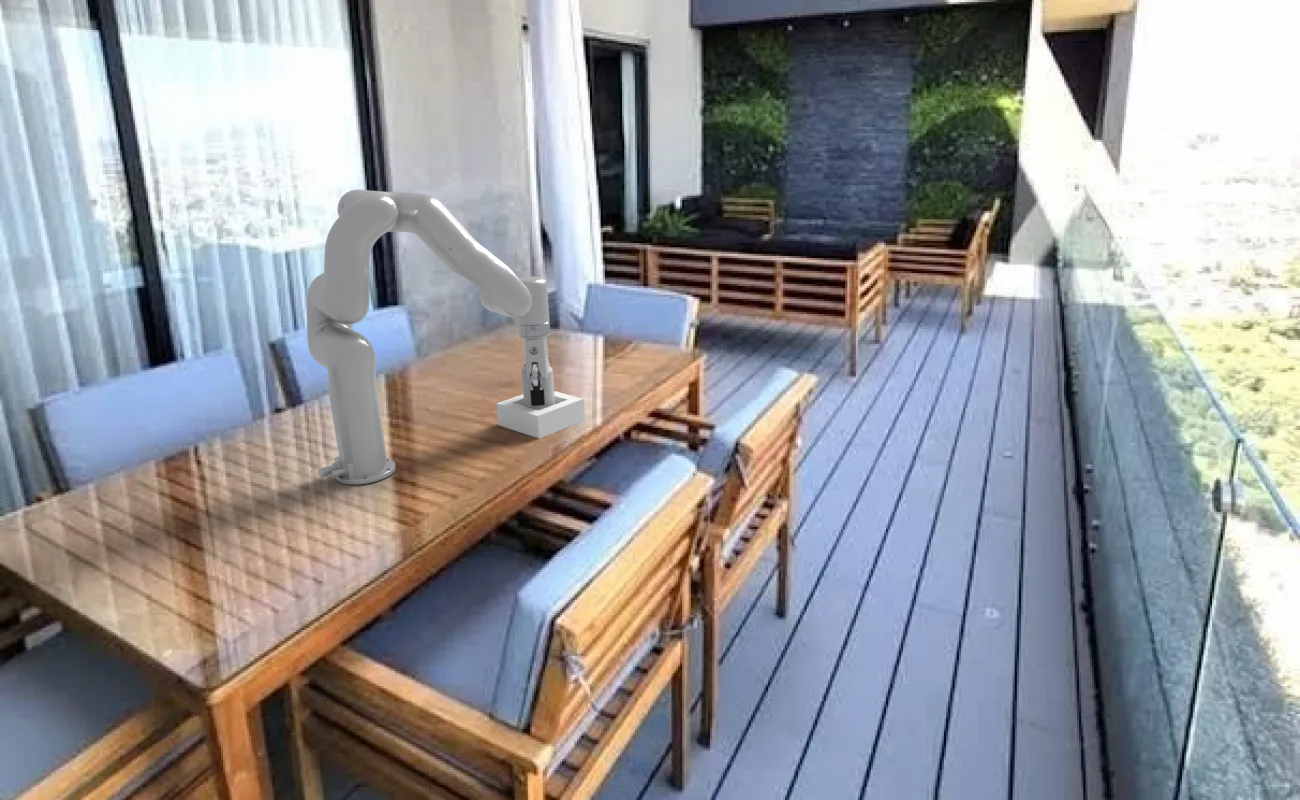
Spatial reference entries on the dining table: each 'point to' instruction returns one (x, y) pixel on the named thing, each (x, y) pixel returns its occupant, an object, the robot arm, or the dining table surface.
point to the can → (547, 386)
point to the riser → (541, 415)
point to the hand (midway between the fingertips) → (539, 399)
